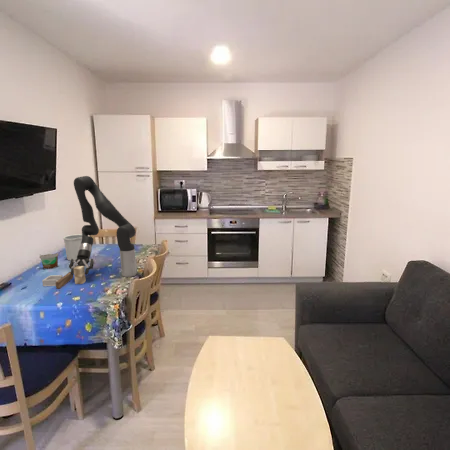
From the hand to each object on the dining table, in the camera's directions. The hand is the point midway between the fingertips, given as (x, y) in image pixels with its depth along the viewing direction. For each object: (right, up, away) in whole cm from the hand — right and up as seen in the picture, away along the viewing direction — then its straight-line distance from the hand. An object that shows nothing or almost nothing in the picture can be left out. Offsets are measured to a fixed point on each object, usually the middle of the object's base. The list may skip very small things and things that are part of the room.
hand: (79, 274), depth 197 cm
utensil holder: (-26, +5, +53) cm, 60 cm away
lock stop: (0, -5, +2) cm, 5 cm away
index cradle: (-17, -6, +1) cm, 18 cm away
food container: (-35, 0, +31) cm, 47 cm away
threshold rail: (-9, -5, +2) cm, 11 cm away
